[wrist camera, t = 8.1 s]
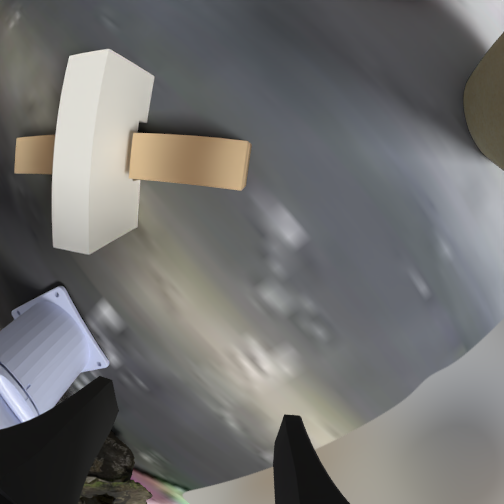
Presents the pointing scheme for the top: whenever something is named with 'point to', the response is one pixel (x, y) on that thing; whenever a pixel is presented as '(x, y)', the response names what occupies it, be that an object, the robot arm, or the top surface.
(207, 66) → the top surface
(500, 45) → the plant pot
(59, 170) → the white flat block
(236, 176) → the wooden bar
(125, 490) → the hollow geode rock
